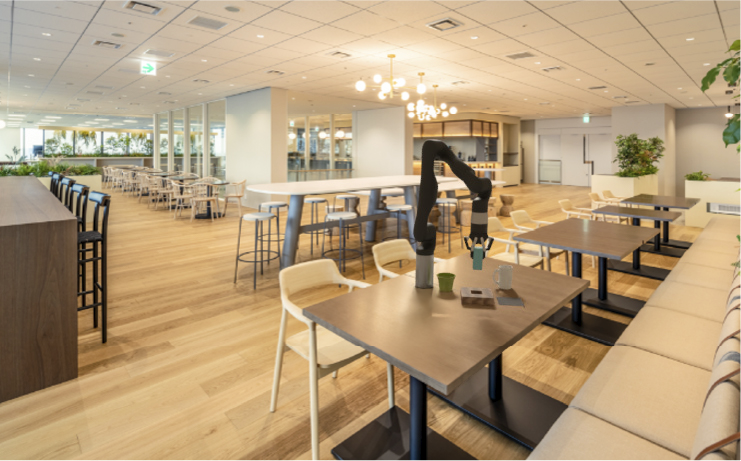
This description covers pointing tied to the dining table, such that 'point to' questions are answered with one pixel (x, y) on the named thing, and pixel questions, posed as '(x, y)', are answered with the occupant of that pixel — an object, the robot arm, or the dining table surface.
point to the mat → (510, 301)
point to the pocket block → (476, 296)
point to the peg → (477, 258)
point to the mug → (504, 276)
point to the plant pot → (446, 281)
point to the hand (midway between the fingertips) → (477, 258)
